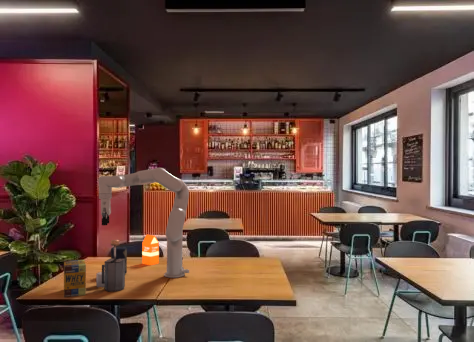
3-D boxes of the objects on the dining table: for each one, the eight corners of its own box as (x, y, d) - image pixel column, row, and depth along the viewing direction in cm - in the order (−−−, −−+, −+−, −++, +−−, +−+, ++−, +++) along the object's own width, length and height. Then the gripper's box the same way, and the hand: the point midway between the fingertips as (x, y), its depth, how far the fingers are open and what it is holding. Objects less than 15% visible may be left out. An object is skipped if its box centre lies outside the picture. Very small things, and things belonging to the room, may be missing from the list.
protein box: (63, 297, 200) (63, 266, 200) (63, 289, 214) (63, 260, 214) (85, 295, 204) (86, 265, 204) (84, 287, 218) (84, 259, 218)
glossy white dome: (111, 284, 224) (111, 271, 225) (106, 287, 217) (106, 274, 218) (99, 284, 225) (99, 271, 225) (94, 287, 218) (94, 274, 218)
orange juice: (150, 261, 283) (150, 233, 283) (159, 263, 278) (159, 234, 278) (141, 263, 277) (142, 235, 277) (150, 265, 272) (150, 236, 272)
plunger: (123, 263, 218) (123, 239, 218) (119, 266, 211) (119, 241, 211) (110, 263, 219) (110, 239, 219) (105, 266, 211) (105, 241, 212)
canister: (122, 276, 240) (122, 247, 241) (107, 276, 242) (108, 246, 243) (129, 273, 250) (129, 244, 250) (115, 272, 252) (115, 244, 252)
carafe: (126, 286, 219) (127, 258, 220) (120, 291, 209) (120, 262, 210) (105, 286, 220) (105, 258, 220) (98, 291, 210) (98, 262, 210)
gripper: (110, 196, 233) (110, 225, 233) (113, 195, 250) (113, 222, 250) (96, 197, 232) (97, 226, 232) (100, 195, 249) (101, 222, 249)
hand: (105, 224), depth 241 cm, fingers open, 9 cm apart
